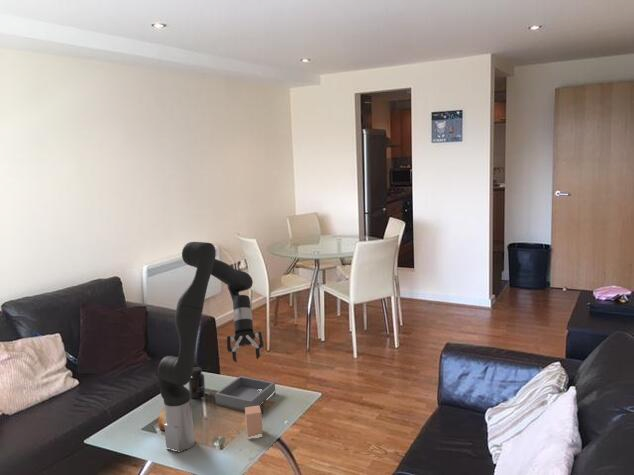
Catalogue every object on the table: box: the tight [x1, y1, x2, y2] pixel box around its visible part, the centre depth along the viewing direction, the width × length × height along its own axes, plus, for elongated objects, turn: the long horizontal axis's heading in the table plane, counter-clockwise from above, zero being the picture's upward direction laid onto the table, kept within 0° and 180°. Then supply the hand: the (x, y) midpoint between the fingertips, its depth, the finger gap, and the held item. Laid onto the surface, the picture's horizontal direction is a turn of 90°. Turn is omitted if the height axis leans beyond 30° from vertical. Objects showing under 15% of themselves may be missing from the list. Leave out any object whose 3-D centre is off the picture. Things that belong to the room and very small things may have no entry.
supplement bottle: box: [188, 366, 206, 399], centre depth 227 cm, size 7×7×12 cm
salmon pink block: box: [244, 405, 264, 437], centre depth 194 cm, size 6×6×10 cm
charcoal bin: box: [214, 375, 276, 412], centre depth 222 cm, size 18×18×5 cm
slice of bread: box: [157, 407, 166, 431], centre depth 210 cm, size 18×18×4 cm
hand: (246, 360), depth 206 cm, fingers open, 8 cm apart
